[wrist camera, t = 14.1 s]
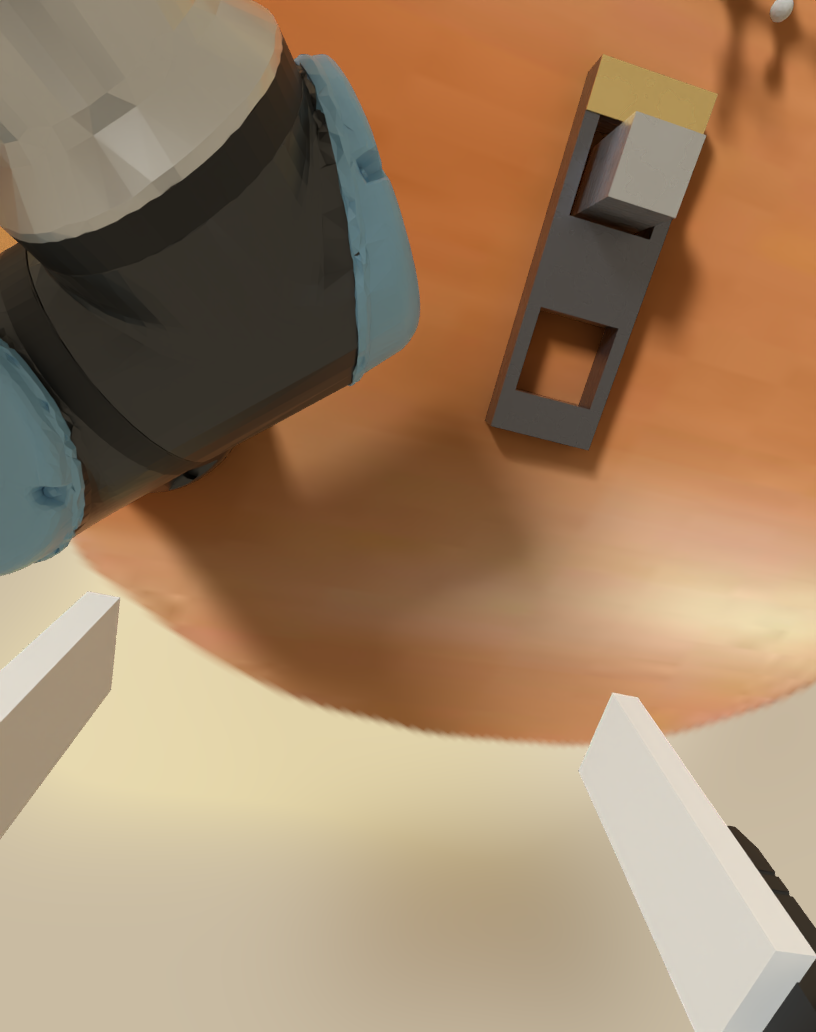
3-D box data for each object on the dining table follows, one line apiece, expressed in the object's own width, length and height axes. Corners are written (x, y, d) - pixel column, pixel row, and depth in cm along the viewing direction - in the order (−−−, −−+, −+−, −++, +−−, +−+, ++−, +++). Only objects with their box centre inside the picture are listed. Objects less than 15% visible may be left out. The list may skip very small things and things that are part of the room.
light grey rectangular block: (570, 217, 40) (608, 196, 33) (592, 147, 38) (636, 110, 32) (627, 235, 40) (675, 218, 34) (651, 167, 39) (706, 135, 32)
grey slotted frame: (484, 420, 44) (491, 426, 42) (588, 72, 37) (603, 54, 34) (577, 444, 45) (588, 450, 43) (696, 109, 38) (717, 94, 35)
